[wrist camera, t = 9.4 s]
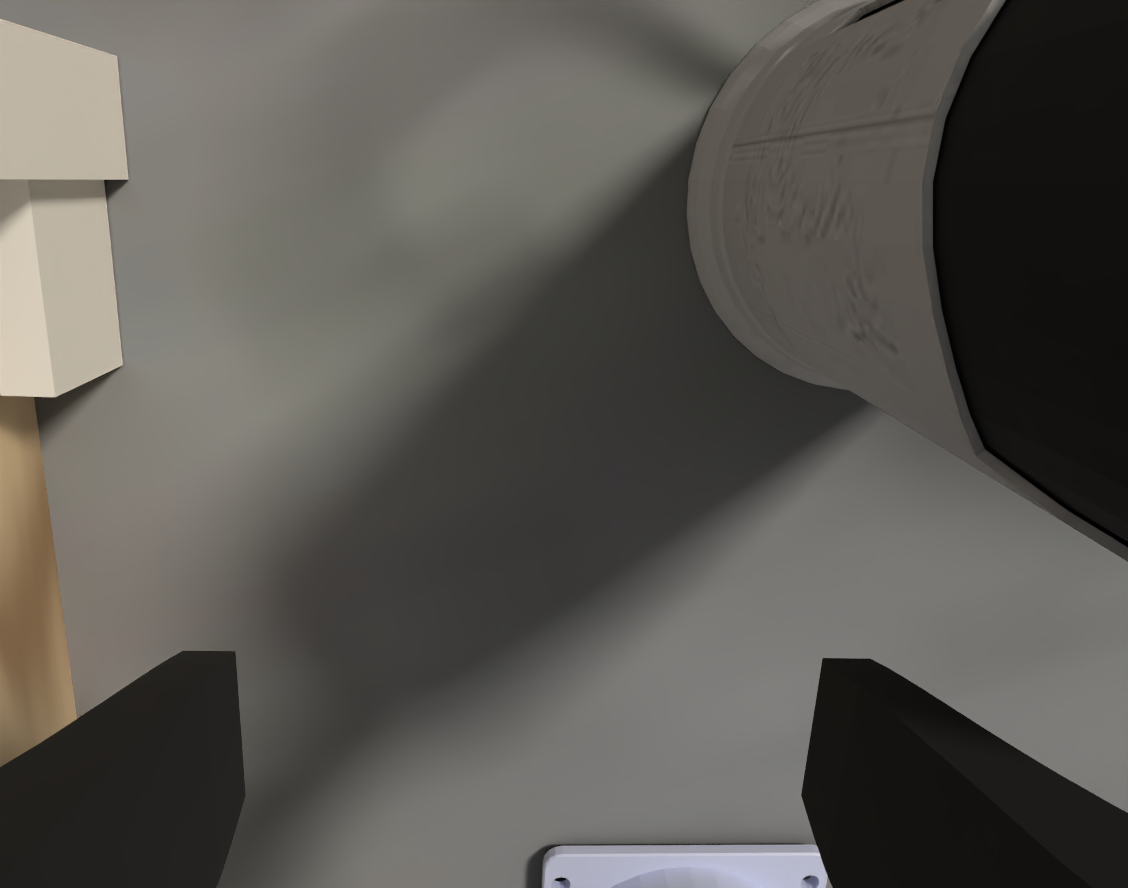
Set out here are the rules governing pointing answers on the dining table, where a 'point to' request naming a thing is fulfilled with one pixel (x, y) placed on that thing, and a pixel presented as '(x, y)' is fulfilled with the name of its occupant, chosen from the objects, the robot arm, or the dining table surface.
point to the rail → (28, 593)
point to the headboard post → (56, 212)
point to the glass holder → (938, 229)
